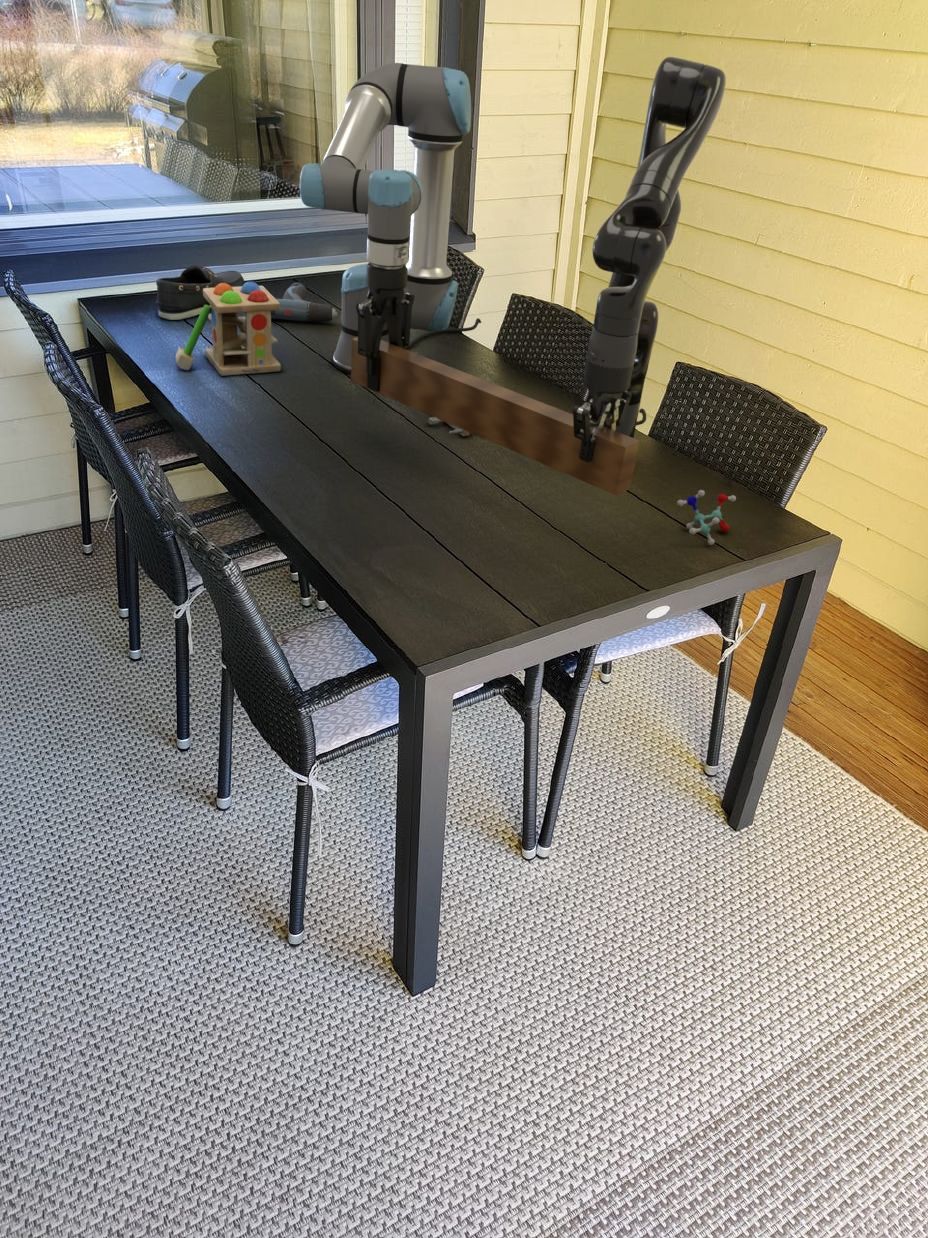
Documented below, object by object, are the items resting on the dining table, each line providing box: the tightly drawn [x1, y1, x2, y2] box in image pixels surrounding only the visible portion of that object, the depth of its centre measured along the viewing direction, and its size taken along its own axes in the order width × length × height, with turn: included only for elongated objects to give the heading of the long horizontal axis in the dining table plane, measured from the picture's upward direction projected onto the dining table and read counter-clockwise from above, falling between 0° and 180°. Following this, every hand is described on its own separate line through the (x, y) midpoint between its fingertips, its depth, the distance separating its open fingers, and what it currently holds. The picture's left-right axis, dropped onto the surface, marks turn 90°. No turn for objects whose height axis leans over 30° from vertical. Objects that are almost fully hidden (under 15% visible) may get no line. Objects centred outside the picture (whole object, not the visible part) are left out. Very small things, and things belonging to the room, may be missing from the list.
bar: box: [350, 337, 641, 496], centre depth 177 cm, size 64×4×9 cm, turn 49°
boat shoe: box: [155, 264, 246, 321], centre depth 263 cm, size 13×33×10 cm, turn 147°
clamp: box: [428, 416, 470, 437], centre depth 210 cm, size 15×2×10 cm
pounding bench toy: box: [174, 281, 282, 377], centre depth 225 cm, size 23×14×18 cm, turn 116°
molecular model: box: [676, 489, 737, 546], centre depth 179 cm, size 12×10×10 cm
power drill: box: [271, 282, 338, 322], centre depth 265 cm, size 5×19×20 cm
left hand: (382, 385), depth 192 cm, fingers closed on bar, 4 cm apart
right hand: (593, 455), depth 164 cm, fingers closed on bar, 4 cm apart
